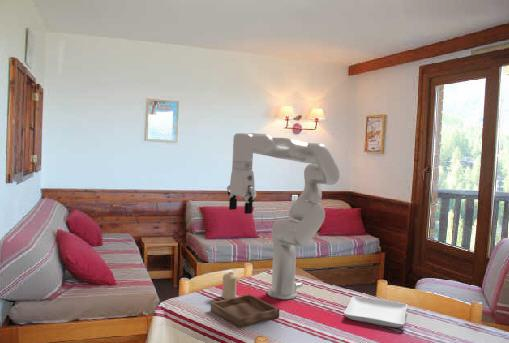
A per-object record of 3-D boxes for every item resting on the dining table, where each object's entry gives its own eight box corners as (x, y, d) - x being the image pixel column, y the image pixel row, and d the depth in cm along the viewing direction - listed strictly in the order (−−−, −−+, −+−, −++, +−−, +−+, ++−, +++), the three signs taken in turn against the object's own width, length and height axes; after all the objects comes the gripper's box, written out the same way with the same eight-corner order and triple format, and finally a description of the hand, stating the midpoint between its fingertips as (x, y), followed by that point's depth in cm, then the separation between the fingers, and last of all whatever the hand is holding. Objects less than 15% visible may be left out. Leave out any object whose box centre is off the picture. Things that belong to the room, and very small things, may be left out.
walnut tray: (248, 301, 179) (249, 294, 178) (279, 316, 165) (279, 308, 164) (210, 310, 167) (210, 303, 167) (239, 328, 153) (239, 319, 153)
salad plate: (342, 321, 164) (343, 312, 163) (352, 302, 183) (352, 294, 183) (403, 333, 156) (404, 324, 156) (407, 312, 176) (407, 303, 175)
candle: (233, 300, 179) (234, 275, 178) (220, 298, 180) (221, 274, 179) (237, 295, 184) (238, 271, 184) (224, 294, 186) (225, 270, 185)
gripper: (264, 168, 165) (262, 214, 166) (236, 164, 178) (235, 207, 180) (248, 168, 160) (246, 215, 162) (221, 164, 174) (219, 208, 175)
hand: (240, 211), depth 171 cm, fingers open, 9 cm apart
